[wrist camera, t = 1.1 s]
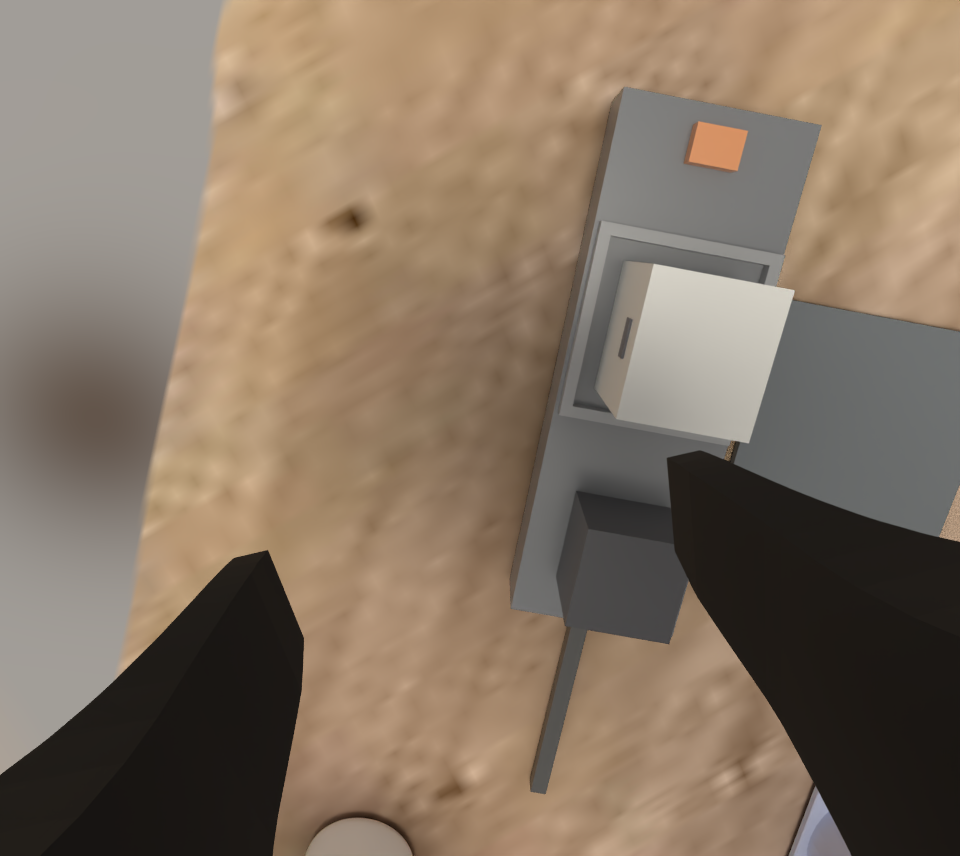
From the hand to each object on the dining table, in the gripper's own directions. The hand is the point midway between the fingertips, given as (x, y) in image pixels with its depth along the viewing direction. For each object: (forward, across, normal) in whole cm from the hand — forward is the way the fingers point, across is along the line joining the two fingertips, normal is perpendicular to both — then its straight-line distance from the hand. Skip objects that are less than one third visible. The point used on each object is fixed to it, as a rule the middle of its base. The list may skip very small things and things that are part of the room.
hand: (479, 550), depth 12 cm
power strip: (+13, -5, +8) cm, 17 cm away
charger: (+12, -8, +1) cm, 14 cm away
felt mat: (+12, -15, +7) cm, 21 cm away
